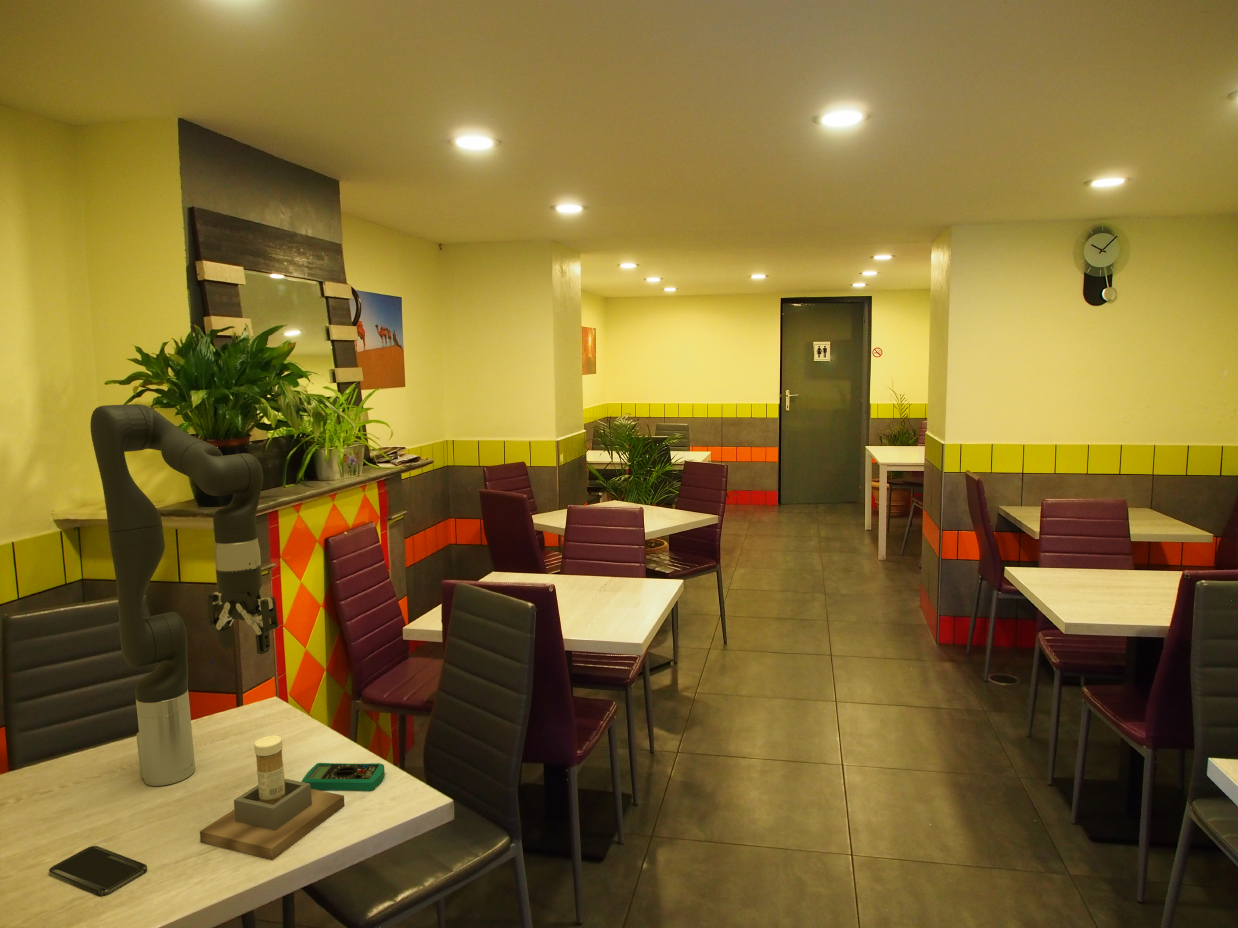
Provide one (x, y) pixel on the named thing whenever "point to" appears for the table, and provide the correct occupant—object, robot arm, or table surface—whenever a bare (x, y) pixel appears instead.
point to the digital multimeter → (345, 776)
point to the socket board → (267, 840)
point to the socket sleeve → (273, 806)
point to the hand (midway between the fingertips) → (245, 650)
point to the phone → (98, 870)
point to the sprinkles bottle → (270, 769)
